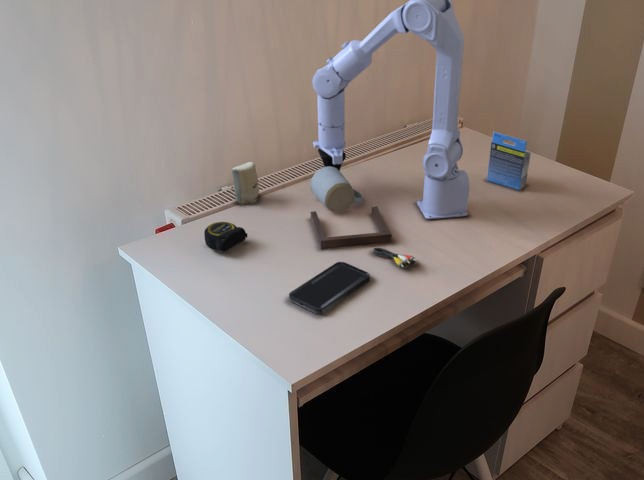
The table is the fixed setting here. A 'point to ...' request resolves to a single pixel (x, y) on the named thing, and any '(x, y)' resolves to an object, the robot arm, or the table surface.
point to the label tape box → (508, 162)
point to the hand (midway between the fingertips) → (332, 180)
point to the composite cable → (395, 257)
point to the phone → (329, 287)
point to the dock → (353, 240)
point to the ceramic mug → (334, 189)
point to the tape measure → (223, 236)
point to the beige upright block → (246, 183)
